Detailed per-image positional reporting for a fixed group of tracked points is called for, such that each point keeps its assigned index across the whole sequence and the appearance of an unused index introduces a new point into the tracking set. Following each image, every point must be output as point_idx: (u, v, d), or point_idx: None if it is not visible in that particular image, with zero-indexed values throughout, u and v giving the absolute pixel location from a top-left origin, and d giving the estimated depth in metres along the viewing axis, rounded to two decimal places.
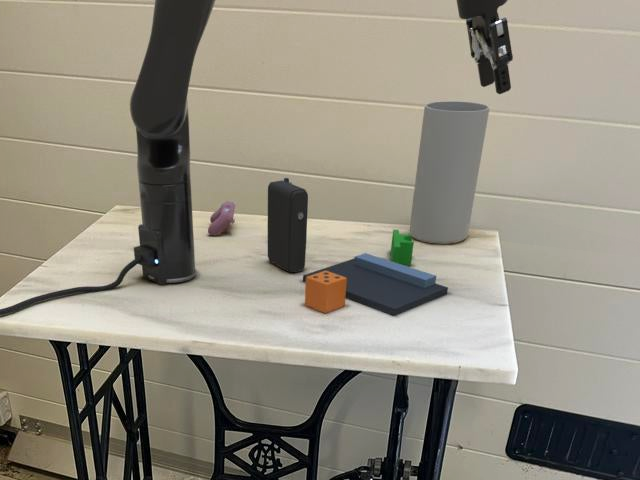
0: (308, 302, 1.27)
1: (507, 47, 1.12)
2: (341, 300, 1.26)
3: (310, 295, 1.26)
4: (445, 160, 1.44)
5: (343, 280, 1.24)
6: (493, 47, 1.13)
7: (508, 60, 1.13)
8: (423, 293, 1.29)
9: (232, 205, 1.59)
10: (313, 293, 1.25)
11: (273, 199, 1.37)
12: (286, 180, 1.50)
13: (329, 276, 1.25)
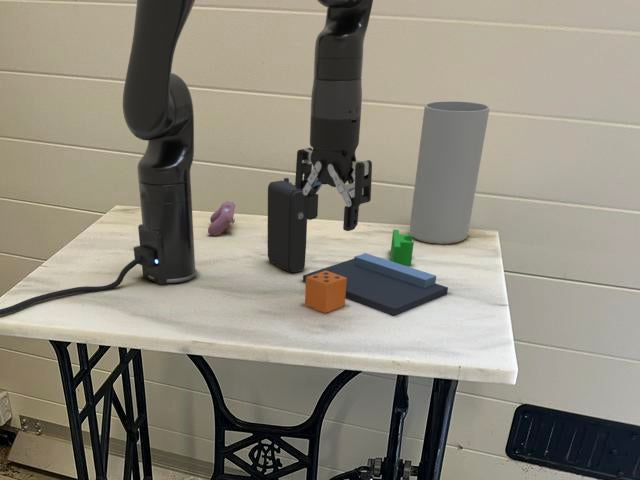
0: (308, 302, 1.27)
1: (367, 188, 1.12)
2: (341, 300, 1.26)
3: (310, 295, 1.26)
4: (445, 160, 1.44)
5: (343, 280, 1.24)
6: (357, 185, 1.10)
7: (366, 201, 1.12)
8: (423, 293, 1.29)
9: (232, 205, 1.59)
10: (313, 293, 1.25)
11: (273, 199, 1.37)
12: (286, 180, 1.50)
13: (329, 276, 1.25)
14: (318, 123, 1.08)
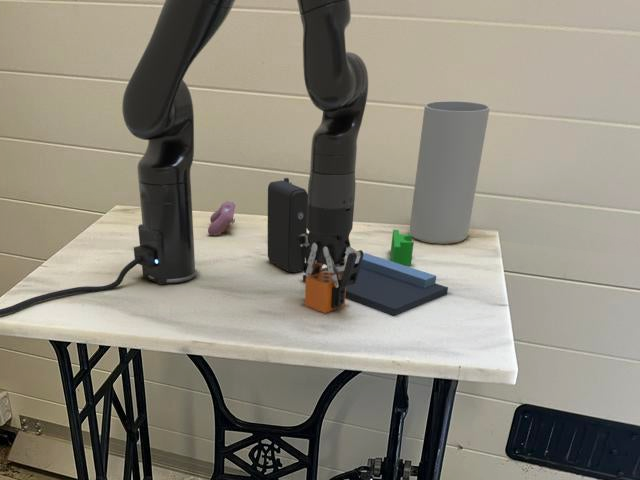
0: (308, 302, 1.27)
1: (354, 273, 1.20)
2: None
3: (310, 295, 1.26)
4: (445, 160, 1.44)
5: None
6: (346, 271, 1.19)
7: (352, 284, 1.21)
8: (423, 293, 1.29)
9: (232, 205, 1.59)
10: (313, 293, 1.25)
11: (273, 199, 1.37)
12: (286, 180, 1.50)
13: (329, 276, 1.25)
14: (314, 211, 1.15)
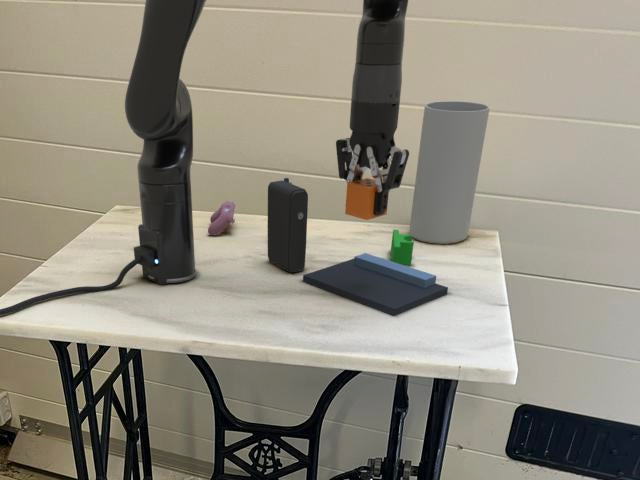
0: (349, 210, 1.23)
1: (399, 176, 1.17)
2: None
3: (351, 202, 1.22)
4: (445, 160, 1.44)
5: None
6: (391, 172, 1.15)
7: (396, 187, 1.18)
8: (423, 293, 1.29)
9: (232, 205, 1.59)
10: (355, 200, 1.21)
11: (273, 199, 1.37)
12: (286, 180, 1.50)
13: (371, 182, 1.21)
14: (359, 107, 1.12)
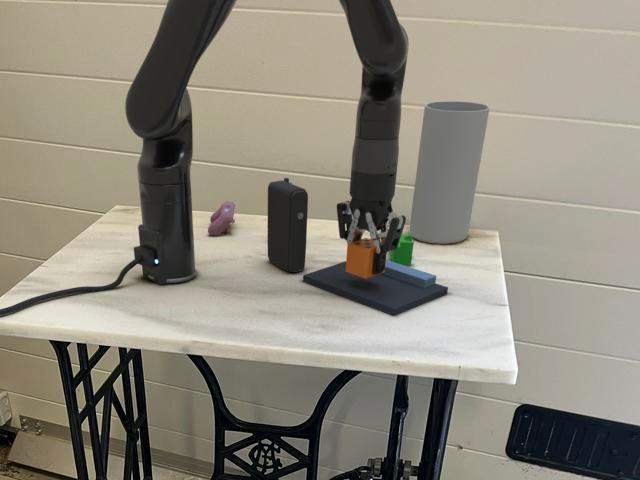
0: (349, 269, 1.30)
1: (396, 239, 1.23)
2: None
3: (351, 261, 1.29)
4: (445, 160, 1.44)
5: None
6: (389, 236, 1.22)
7: (393, 249, 1.25)
8: (423, 293, 1.29)
9: (232, 205, 1.59)
10: (355, 259, 1.28)
11: (273, 199, 1.37)
12: (286, 180, 1.50)
13: (370, 243, 1.28)
14: (359, 177, 1.19)
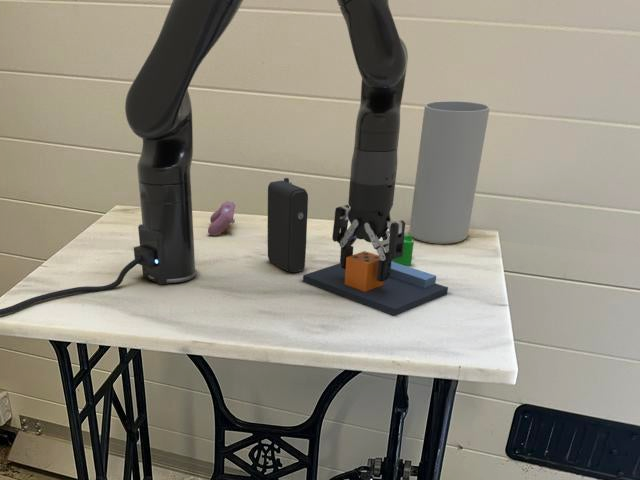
0: (348, 281, 1.31)
1: (400, 245, 1.23)
2: None
3: (350, 275, 1.30)
4: (445, 160, 1.44)
5: None
6: (392, 243, 1.22)
7: (399, 256, 1.24)
8: (423, 293, 1.29)
9: (232, 205, 1.59)
10: (353, 273, 1.29)
11: (273, 199, 1.37)
12: (286, 180, 1.50)
13: (368, 256, 1.29)
14: (357, 187, 1.20)
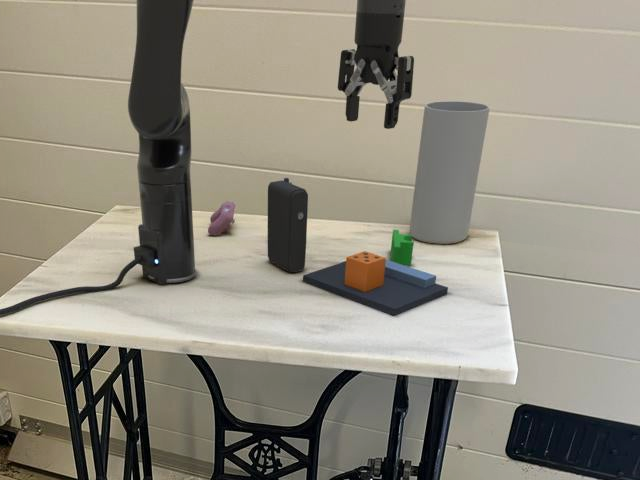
0: (348, 281, 1.31)
1: (408, 84, 1.17)
2: (380, 279, 1.31)
3: (350, 275, 1.30)
4: (445, 160, 1.44)
5: (382, 259, 1.28)
6: (399, 80, 1.16)
7: (407, 97, 1.18)
8: (423, 293, 1.29)
9: (232, 205, 1.59)
10: (353, 273, 1.29)
11: (273, 199, 1.37)
12: (286, 180, 1.50)
13: (368, 256, 1.29)
14: (364, 18, 1.13)
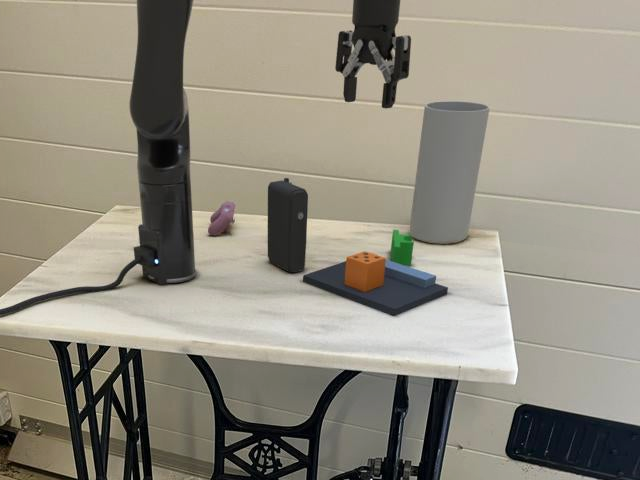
0: (348, 281, 1.31)
1: (406, 64, 1.19)
2: (380, 279, 1.31)
3: (350, 275, 1.30)
4: (445, 160, 1.44)
5: (382, 259, 1.28)
6: (397, 59, 1.18)
7: (405, 76, 1.20)
8: (423, 293, 1.29)
9: (232, 205, 1.59)
10: (353, 273, 1.29)
11: (273, 199, 1.37)
12: (286, 180, 1.50)
13: (368, 256, 1.29)
14: None
